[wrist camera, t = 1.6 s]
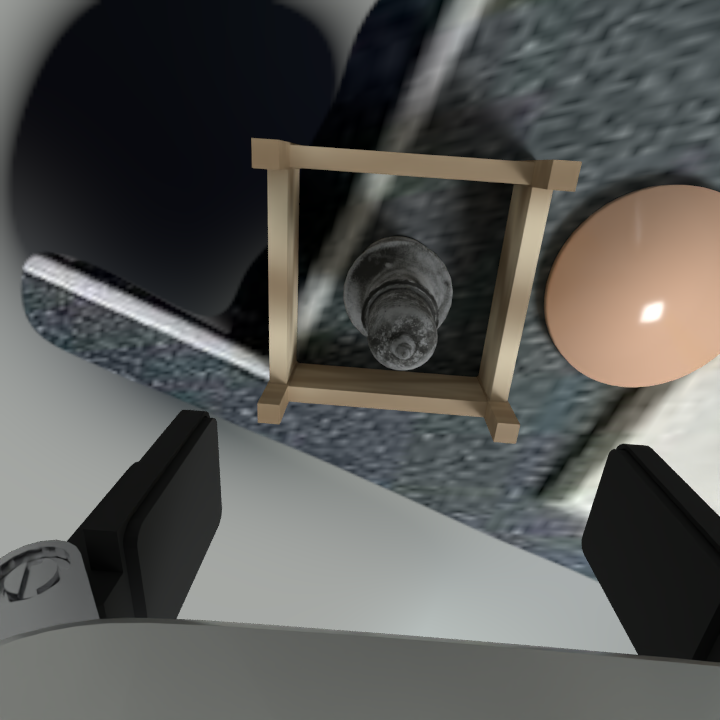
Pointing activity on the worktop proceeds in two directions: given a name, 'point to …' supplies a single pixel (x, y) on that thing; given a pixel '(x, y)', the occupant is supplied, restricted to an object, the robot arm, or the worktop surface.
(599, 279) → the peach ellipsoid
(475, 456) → the worktop surface
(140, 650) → the robot arm
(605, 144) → the worktop surface
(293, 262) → the frame
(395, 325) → the dark chess piece
